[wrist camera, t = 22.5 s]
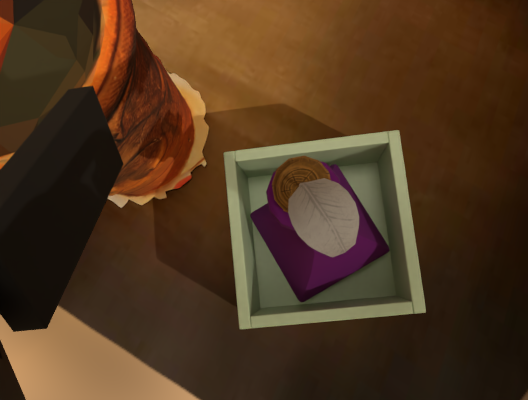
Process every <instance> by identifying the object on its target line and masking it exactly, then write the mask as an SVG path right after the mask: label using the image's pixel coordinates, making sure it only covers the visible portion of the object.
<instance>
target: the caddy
mask: <svg viewBox="0 0 528 400" xmlns="http://www.w3.org/2000/svg"><path fill="white" fill-rule="evenodd" d="M299 156H307V157H310V158H313V159H316V160H319V161H322V162H325V163H327V164H328V165H329V166H331V165H333V164H336V165H338V167H339V168H340V170H341V171H342V173H343V175H344V176H345V178H346V179H347V181H348V183H349V184H350V186H351V187H352V189H353V190H354V192H355V194H356V195H357V197H358V198H359V200H360V202H361V203H362V205H363V206H364V208H365V210H366V211H367V213H368V214H369V216H370V217H371V219H372V221H373V222H374V224H375V225H376V227H377V229H378V230H379V232H380V233H381V235H382V236H383V238H384V240H385V241H386V243H387V244H388V246H389V248H390V251H389V252H388V253H386V254H385V255H383V256H381V257H380V258H378V259H376V260H375V261H373V262H371V263H369V264H368V265H366V266H364V267H363V268H361V269H359V270H357V271H356V272H354V273H352V274H351V275H349V276H347V277H346V278H344V279H342V280H340V281H339V282H337V283H335V284H334V285H332V286H330V287H328V288H327V289H325V290H323V291H322V292H320V293H318V294H317V295H315V296H313V297H311V298H310V299H308V300H306V301H305V302H300V301H299V300H298V299H297V297H296V295H295V294H294V292H293V290H292V288H291V287H290V285H289V283H288V281H287V280H286V278H285V276H284V275H283V273H282V271H281V269H280V268H279V266H278V264H277V262H276V261H275V259H274V257H273V255H272V254H271V252H270V250H269V249H268V247H267V245H266V243H265V242H264V240H263V238H262V236H261V235H260V233H259V231H258V230H257V228H256V226H255V224H254V223H253V221H252V219H251V217H250V214H251V213H252V212H253V211H255V210H257V209H258V208H260V207H262V206H264V205H265V204H267V203H268V201H267V194H266V191H267V188H268V185H269V183H270V180H271V177H272V174H273V172H275V171H276V170H277V168H278V167H280V166H281V165H282V164H283V163H284V162H285V161H286V160H288V159H289V158H294V157H299ZM224 164H225V176H226V187H227V198H228V209H229V220H230V231H231V242H232V254H233V265H234V276H235V287H236V298H237V309H238V320H239V329H250V328H261V327H272V326H283V325H294V324H305V323H316V322H327V321H338V320H349V319H361V318H372V317H383V316H394V315H405V314H413V313H415V314H416V313H425V312H426V307H425V301H424V294H423V287H422V281H421V274H420V267H419V261H418V254H417V247H416V240H415V234H414V227H413V220H412V214H411V207H410V200H409V193H408V187H407V180H406V173H405V167H404V160H403V153H402V147H401V140H400V133H399V130H395V131H388V132H387V131H386V132H378V133H370V134H362V135H354V136H346V137H338V138H331V139H323V140H315V141H307V142H299V143H291V144H283V145H276V146H268V147H260V148H252V149H244V150H236V151H235V152H234V151H229V152H224Z"/></svg>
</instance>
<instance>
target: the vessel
mask: <svg viewBox="0 0 528 400" xmlns="http://www.w3.org/2000/svg"><path fill="white" fill-rule="evenodd" d="M87 86H93V87H94V90H95V92H96V95H97V97H98V100H99V102H100V105H101V108H102V110H103V113H104V115H105V118H106V120H107V123H108V125H109V128H110V130H111V133H112V136H113V138H114V141H115V143H116V146H117V148H118V151H119V153H120V156H121V159H122V161H123V166H122V168H121V171H120V173H119V175H118V177H117V179H116V181H115V183H114V186H113V188H112V190H111V192H110V194H109V196H108V198H107V199H109V200H111V201H113V202H114V203H115V204H117V205H118V206H119V207H121V208H122V207H123V206H124V205H125V204H126V203H127V201H128V200H129V199H130V200H131V201H133V202H135V203H138V204H140V205H143V204H145V203H147V202H148V201H149V200H151V199H152V198H153V197H156V198H158V199H163V198H167V197H166V192H165V191H168V190H172V189H177V188H180V187H181V186H182V185H184V184H185V183H186V182H187V181H188V180H190V179H191V178H192V176H191V173H190V172H191V171H192V170H193V169H194V168H195V167H197V166H198V165H200V164H202V165H203V166H204V167H205V165H206V164H207V163H206V161H205V158H204V156H203V153H202V150H203V148H204V145H205V142H206V139H207V135H208V131H209V126H208V125H207V124H206V122H205V121H204V116H205V113H206V110H205V103H204V102H203V100H202V99H201V96H200V93H199V92H198V91H196V90H194V89H192V88H191V87H190V85H189V84H188V83H187V81H186V80H184V79H182V78H180V77H179V76H178V75H176V74H175V73H173V74H169V73H168V72H167V71H166V70H165V68H164V67H163V65H162V62H161V60H160V59H159V58H158V57H157V56H156V55H154V54H153V53H152V51H151V49H150V48H149V46H148V44H147V42H146V41H145V40H144V39H143V37H142V36H141V35H140V33H139V32H138V30H137V28H136V21H135V13H134V9H133V4H132V0H0V169H1V168H2V167H3V166H4V165H5V164H6V162H7V161H8V160H9V159H10V158H11V156H12V155H13V154H14V153H15V152H16V151H17V149H18V148H19V147H20V146H21V145H22V143H23V142H24V141H25V140H26V139H27V138H28V136H29V135H30V134H31V133H32V132H33V130H34V129H35V128H36V127H37V126H38V125H39V123H40V122H41V121H42V120H43V119H44V117H45V116H46V115H47V114H48V113H49V112H50V110H51V109H52V108H53V107H54V106H55V104H56V103H57V102H58V101H59V100H60V99H61V97H62V96H63V95H64V94H65V93H66V91H67V90H68V89H73V88H80V87H87Z"/></svg>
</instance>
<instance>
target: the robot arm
mask: <svg viewBox="0 0 528 400" xmlns="http://www.w3.org/2000/svg"><path fill="white" fill-rule="evenodd" d="M122 166H123V161H122V159H121V156H120V153H119V151H118V148H117V146H116V143H115V141H114V138H113V136H112V133H111V130H110V128H109V125H108V123H107V120H106V118H105V115H104V113H103V110H102V108H101V105H100V102H99V100H98V97H97V95H96V92H95V90H94V87H93V86H87V87H80V88H73V89H68V90H67V91H66V93H65V94H64V95H63V96H62V97H61V99H60V100H59V101H58V102H57V103H56V104H55V106H54V107H53V108H52V109H51V110H50V112H49V113H48V114H47V115H46V116H45V117H44V119H43V120H42V121H41V122H40V123H39V125H38V126H37V127H36V128H35V129H34V130H33V132H32V133H31V134H30V135H29V136H28V138H27V139H26V140H25V141H24V142H23V143H22V145H21V146H20V147H19V148H18V149H17V151H16V152H15V153H14V154H13V155H12V156H11V158H10V159H9V160H8V161H7V162H6V164H5V165H4V166H3V167H2V168H1V169H0V314H1V315H2V317H3V318H4V319H5V320H6V322H7V323H8V325H9V326H10V327H11V329H12V330H13V331H14V332H15V331H25V330H36V329H46V328H47V327H48V324H49V323H50V320H51V318H52V316H53V314H54V312H55V310H56V308H57V305H58V303H59V301H60V299H61V297H62V295H63V293H64V290H65V288H66V286H67V284H68V282H69V280H70V278H71V275H72V273H73V271H74V269H75V267H76V265H77V263H78V260H79V258H80V256H81V254H82V252H83V250H84V248H85V245H86V243H87V241H88V239H89V237H90V235H91V233H92V231H93V228H94V226H95V224H96V222H97V220H98V218H99V216H100V213H101V211H102V209H103V207H104V205H105V203H106V201H107V198H108V196H109V194H110V192H111V190H112V188H113V186H114V183H115V181H116V179H117V177H118V175H119V173H120V171H121V168H122ZM0 400H26V399H25V397H24V394H23V392H22V390H21V387H20V385H19V383H18V380H17V378H16V376H15V373H14V371H13V369H12V366H11V364H10V362H9V360H8V357H7V355H6V353H5V350H4V348H3V345H2V343H1V341H0Z"/></svg>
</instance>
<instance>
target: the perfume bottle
mask: <svg viewBox="0 0 528 400" xmlns="http://www.w3.org/2000/svg"><path fill="white" fill-rule="evenodd" d="M266 194H267V201H268V203H267V204H265V205H264V206H262V207H260V208H258V209H257V210H255V211H253V212H252V213H251V214H250V217H251V219H252V221H253V223H254V224H255V226H256V228H257V230H258V231H259V233H260V235H261V236H262V238H263V240H264V242H265V243H266V245H267V247H268V249H269V250H270V252H271V254H272V255H273V257H274V259H275V261H276V262H277V264H278V266H279V268H280V269H281V271H282V273H283V275H284V276H285V278H286V280H287V281H288V283H289V285H290V287H291V288H292V290H293V292H294V294H295V295H296V297H297V299H298V300H299V301H300V302H305V301H306V300H308V299H310V298H311V297H313V296H315V295H317V294H318V293H320V292H322V291H323V290H325V289H327V288H328V287H330V286H332V285H334V284H335V283H337V282H339V281H340V280H342V279H344V278H346V277H347V276H349V275H351V274H352V273H354V272H356V271H357V270H359V269H361V268H363V267H364V266H366V265H368V264H369V263H371V262H373V261H375V260H376V259H378V258H380V257H381V256H383V255H385V254H386V253H388V252H389V251H390V248H389V246H388V244H387V243H386V241H385V240H384V238H383V236H382V235H381V233H380V232H379V230H378V229H377V227H376V225H375V224H374V222H373V221H372V219H371V217H370V216H369V214H368V213H367V211H366V210H365V208H364V206H363V205H362V203H361V202H360V200H359V198H358V197H357V195H356V194H355V192H354V190H353V189H352V187H351V186H350V184H349V183H348V181H347V179H346V178H345V176H344V175H343V173H342V171H341V170H340V168H339V167H338V165H336V164H333V165H331V166H329V165H328V164H327V163H325V162H322V161H319V160H316V159H313V158H310V157H307V156H299V157H294V158H289V159H288V160H286V161H285V162H284V163H283V164H282V165H281V166H280V167H278V168H277V170H276V171H275V172H273V174H272V177H271V180H270V183H269V185H268V188H267V191H266Z"/></svg>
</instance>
